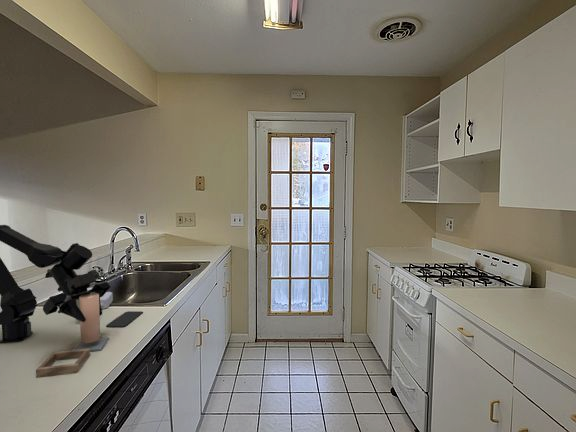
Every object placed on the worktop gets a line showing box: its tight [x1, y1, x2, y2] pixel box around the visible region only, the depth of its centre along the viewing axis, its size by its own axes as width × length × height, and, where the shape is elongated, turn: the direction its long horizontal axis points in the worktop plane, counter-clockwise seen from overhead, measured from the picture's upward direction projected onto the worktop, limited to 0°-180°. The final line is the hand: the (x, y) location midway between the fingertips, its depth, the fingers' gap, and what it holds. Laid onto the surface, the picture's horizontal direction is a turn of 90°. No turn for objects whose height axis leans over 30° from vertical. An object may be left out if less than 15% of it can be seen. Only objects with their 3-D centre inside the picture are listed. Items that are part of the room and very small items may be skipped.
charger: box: [100, 291, 114, 310], centre depth 133 cm, size 5×9×15 cm
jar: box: [79, 293, 101, 343], centre depth 99 cm, size 5×5×14 cm
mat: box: [72, 337, 110, 353], centre depth 100 cm, size 8×8×1 cm
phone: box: [105, 310, 144, 329], centre depth 121 cm, size 7×1×15 cm
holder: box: [35, 349, 91, 378], centre depth 88 cm, size 10×10×2 cm
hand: (93, 317), depth 99 cm, fingers closed on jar, 5 cm apart
